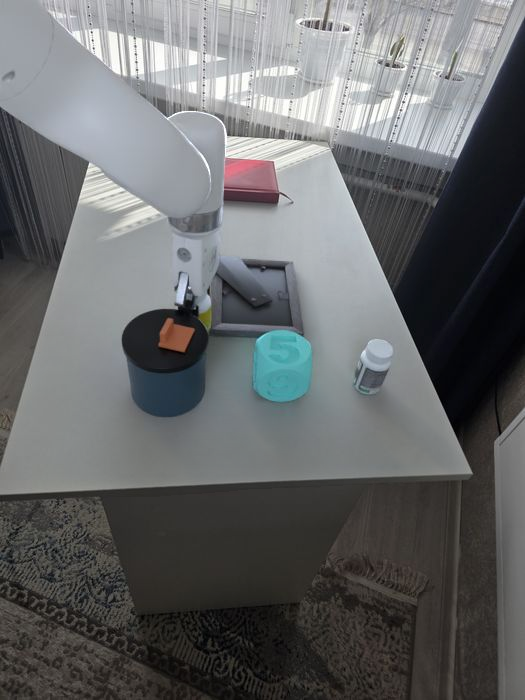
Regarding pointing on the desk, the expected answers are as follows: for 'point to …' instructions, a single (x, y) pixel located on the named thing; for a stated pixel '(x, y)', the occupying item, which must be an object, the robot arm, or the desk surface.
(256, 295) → the picture frame
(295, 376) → the decorative dice
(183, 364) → the travel mug
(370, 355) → the pill bottle
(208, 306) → the supplement bottle
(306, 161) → the desk surface
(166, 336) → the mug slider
